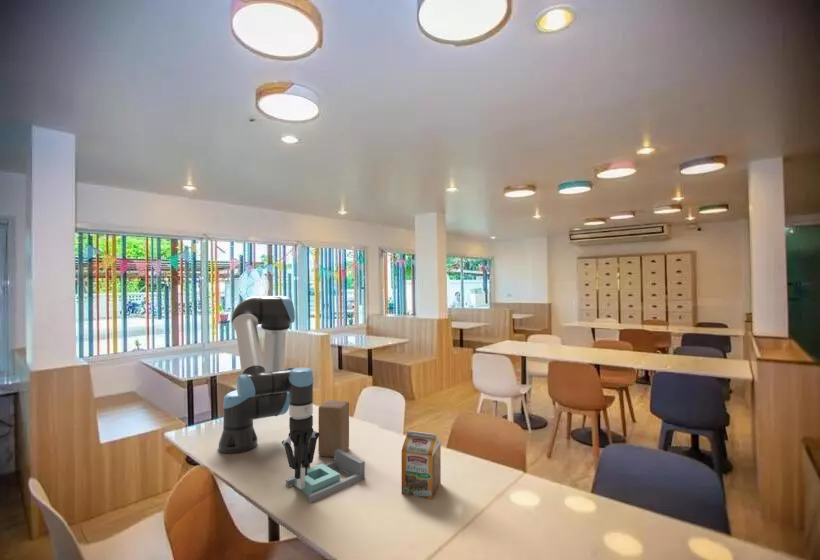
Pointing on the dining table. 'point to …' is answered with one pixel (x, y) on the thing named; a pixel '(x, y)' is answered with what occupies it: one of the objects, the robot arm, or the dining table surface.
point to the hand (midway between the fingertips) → (300, 486)
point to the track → (344, 463)
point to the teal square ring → (318, 478)
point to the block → (333, 427)
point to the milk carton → (421, 465)
